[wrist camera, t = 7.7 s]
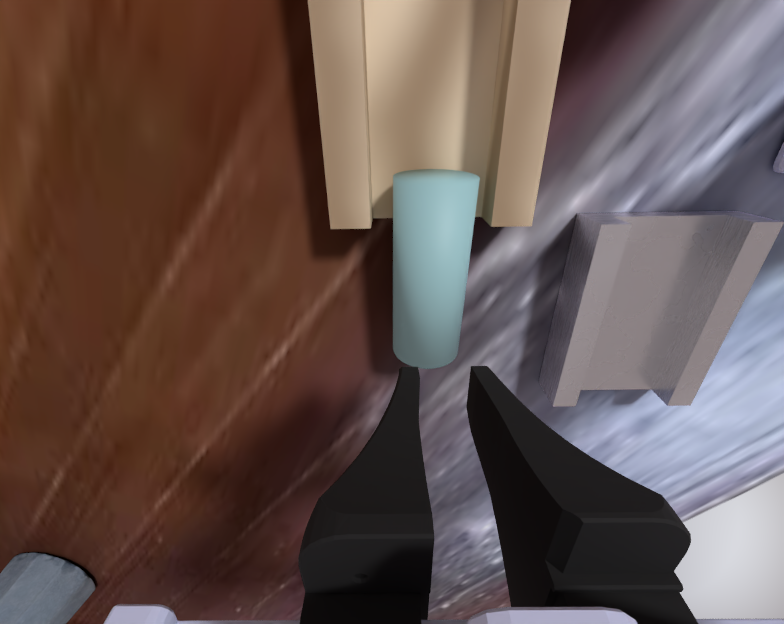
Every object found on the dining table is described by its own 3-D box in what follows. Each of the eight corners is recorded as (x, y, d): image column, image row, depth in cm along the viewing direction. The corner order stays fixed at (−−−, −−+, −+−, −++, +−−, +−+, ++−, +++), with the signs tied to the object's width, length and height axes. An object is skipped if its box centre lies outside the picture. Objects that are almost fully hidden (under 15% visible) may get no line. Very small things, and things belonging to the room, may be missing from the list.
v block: (738, 210, 19) (784, 221, 17) (663, 379, 25) (690, 405, 23) (576, 213, 20) (601, 224, 17) (538, 381, 25) (552, 406, 23)
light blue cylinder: (392, 169, 18) (394, 186, 14) (469, 168, 18) (489, 185, 14) (392, 329, 23) (393, 369, 20) (451, 328, 23) (463, 368, 20)
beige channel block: (559, -89, 14) (593, -134, 12) (514, 214, 20) (531, 226, 17) (312, -83, 14) (295, -126, 12) (338, 216, 20) (330, 229, 17)
